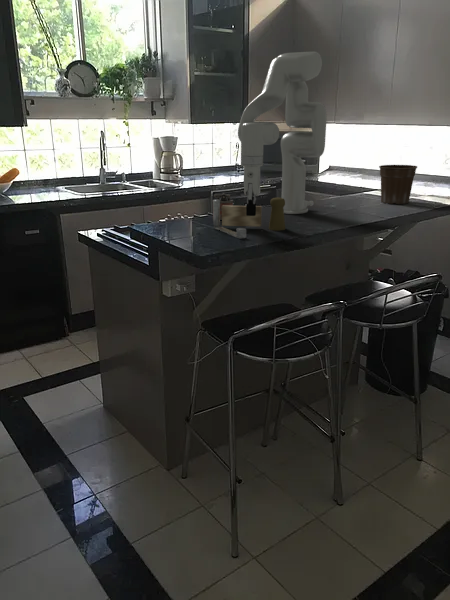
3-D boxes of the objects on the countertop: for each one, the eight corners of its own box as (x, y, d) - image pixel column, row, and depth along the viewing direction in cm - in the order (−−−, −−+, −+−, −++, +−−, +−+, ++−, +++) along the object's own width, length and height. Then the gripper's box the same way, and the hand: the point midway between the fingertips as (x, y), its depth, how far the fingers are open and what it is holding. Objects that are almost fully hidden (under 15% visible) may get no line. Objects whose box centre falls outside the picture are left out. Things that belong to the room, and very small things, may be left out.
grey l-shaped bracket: (212, 227, 186) (211, 199, 182) (218, 226, 187) (217, 199, 183) (239, 238, 169) (240, 208, 166) (246, 237, 170) (246, 207, 167)
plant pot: (368, 202, 235) (371, 165, 230) (390, 198, 244) (393, 163, 239) (398, 206, 223) (402, 168, 217) (420, 202, 232) (425, 166, 226)
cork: (264, 228, 183) (265, 197, 180) (275, 226, 187) (276, 195, 184) (277, 231, 179) (278, 199, 176) (288, 228, 183) (290, 197, 180)
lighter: (233, 218, 201) (233, 192, 197) (233, 220, 198) (233, 194, 194) (212, 219, 201) (212, 193, 197) (212, 220, 197) (212, 194, 194)
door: (222, 225, 184) (221, 206, 182) (223, 224, 187) (222, 204, 184) (261, 226, 182) (261, 206, 180) (261, 224, 185) (261, 205, 183)
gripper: (261, 163, 166) (260, 219, 172) (264, 159, 180) (263, 212, 186) (238, 162, 167) (237, 219, 173) (243, 159, 181) (242, 211, 187)
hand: (251, 215), depth 179 cm, fingers closed
